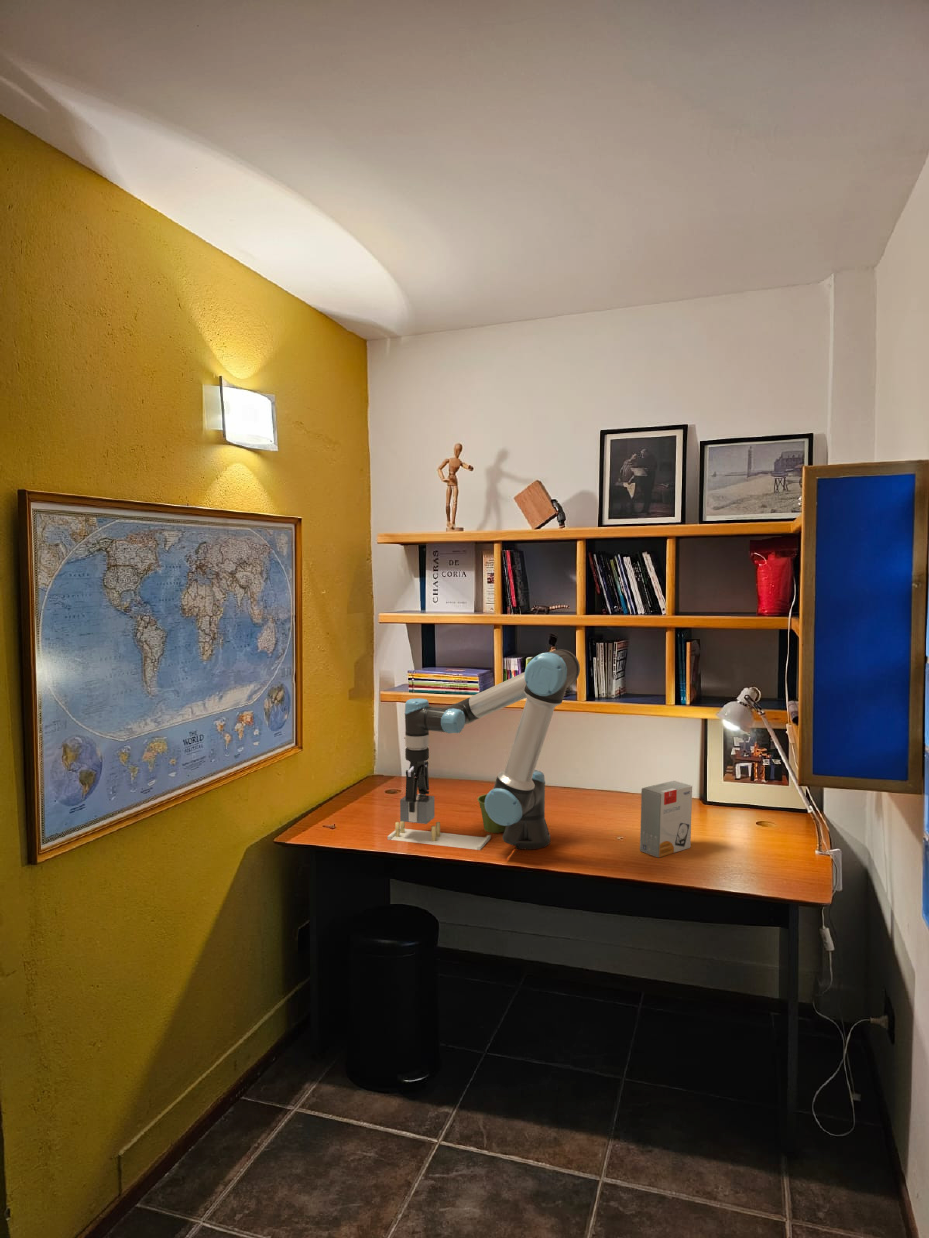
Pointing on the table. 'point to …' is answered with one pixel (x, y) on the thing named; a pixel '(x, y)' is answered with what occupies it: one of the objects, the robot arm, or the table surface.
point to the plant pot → (487, 821)
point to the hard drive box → (665, 818)
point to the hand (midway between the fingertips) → (417, 817)
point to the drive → (418, 809)
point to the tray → (437, 837)
